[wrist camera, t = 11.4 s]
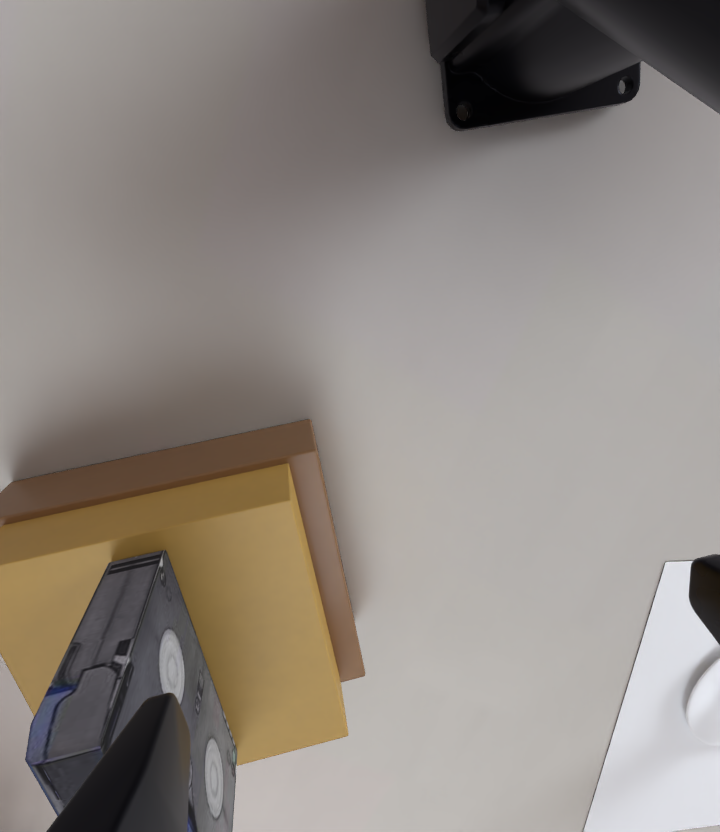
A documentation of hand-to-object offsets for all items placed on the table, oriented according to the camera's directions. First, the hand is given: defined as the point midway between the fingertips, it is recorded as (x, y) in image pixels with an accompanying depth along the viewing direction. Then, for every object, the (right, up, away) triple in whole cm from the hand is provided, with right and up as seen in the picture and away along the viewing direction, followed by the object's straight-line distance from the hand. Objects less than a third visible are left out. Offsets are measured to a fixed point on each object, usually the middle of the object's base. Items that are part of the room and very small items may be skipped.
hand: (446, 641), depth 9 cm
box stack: (-8, -2, +12) cm, 15 cm away
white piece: (+22, -13, +21) cm, 33 cm away
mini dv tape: (-7, -4, +7) cm, 11 cm away
